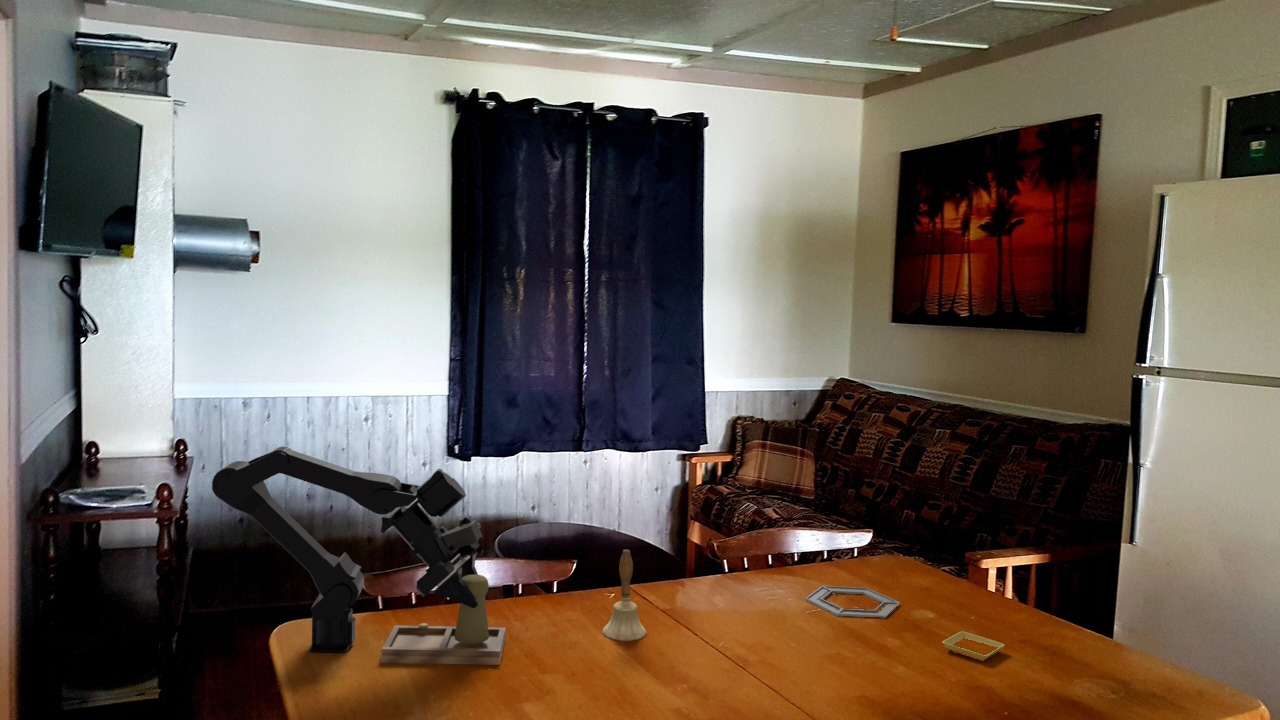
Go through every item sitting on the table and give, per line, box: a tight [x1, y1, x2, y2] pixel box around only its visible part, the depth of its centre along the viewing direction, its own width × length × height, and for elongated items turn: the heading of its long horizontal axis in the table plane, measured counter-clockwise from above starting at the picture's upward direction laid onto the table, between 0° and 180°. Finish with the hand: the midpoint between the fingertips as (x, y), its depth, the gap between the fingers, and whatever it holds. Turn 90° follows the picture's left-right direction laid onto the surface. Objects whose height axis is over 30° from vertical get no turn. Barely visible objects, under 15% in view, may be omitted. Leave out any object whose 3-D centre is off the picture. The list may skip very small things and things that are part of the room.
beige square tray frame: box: [942, 631, 1005, 660], centre depth 177 cm, size 9×9×2 cm
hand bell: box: [601, 549, 647, 642], centre depth 179 cm, size 8×8×16 cm
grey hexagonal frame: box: [805, 585, 901, 619], centre depth 202 cm, size 17×20×1 cm
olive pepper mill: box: [455, 574, 489, 644], centre depth 167 cm, size 6×6×11 cm
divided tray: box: [380, 622, 507, 666], centre depth 168 cm, size 20×12×3 cm, turn 93°
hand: (480, 601), depth 167 cm, fingers closed on olive pepper mill, 5 cm apart
